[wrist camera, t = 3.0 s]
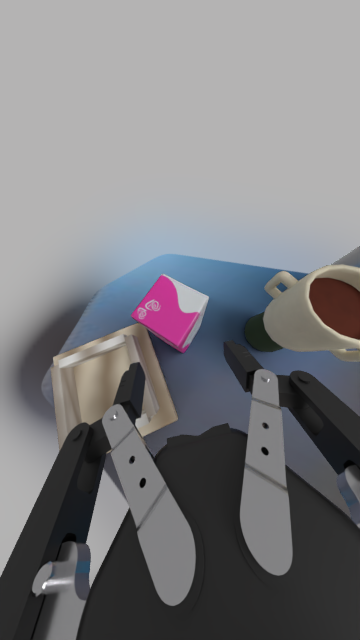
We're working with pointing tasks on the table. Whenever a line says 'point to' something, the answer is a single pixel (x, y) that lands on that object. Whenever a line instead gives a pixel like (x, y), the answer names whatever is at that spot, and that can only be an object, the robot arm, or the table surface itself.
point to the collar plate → (109, 381)
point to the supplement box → (172, 312)
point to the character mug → (311, 313)
